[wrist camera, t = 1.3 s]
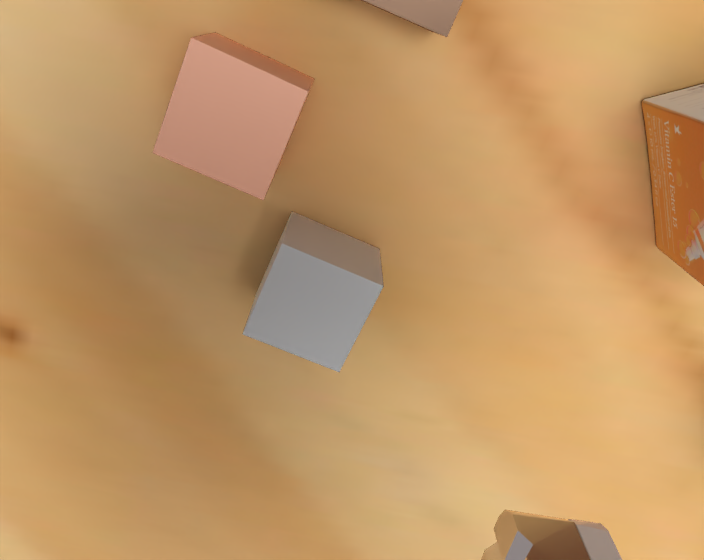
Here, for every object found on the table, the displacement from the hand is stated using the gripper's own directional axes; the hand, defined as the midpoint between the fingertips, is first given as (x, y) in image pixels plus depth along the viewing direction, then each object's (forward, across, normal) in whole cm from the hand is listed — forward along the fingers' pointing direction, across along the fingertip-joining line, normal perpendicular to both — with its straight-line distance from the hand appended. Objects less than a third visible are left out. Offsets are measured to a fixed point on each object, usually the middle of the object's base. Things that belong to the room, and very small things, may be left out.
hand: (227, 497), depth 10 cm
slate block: (+25, -2, +7) cm, 26 cm away
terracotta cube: (+25, +3, -1) cm, 25 cm away
